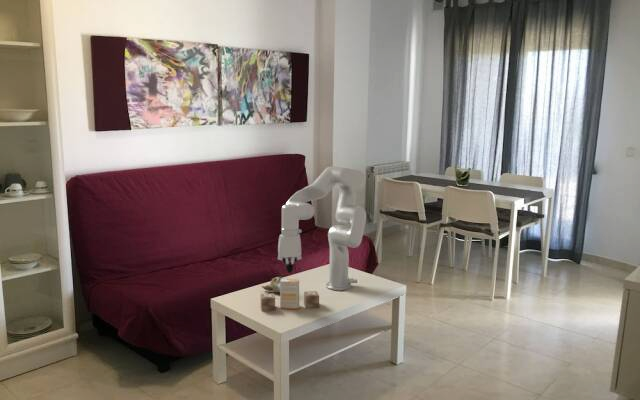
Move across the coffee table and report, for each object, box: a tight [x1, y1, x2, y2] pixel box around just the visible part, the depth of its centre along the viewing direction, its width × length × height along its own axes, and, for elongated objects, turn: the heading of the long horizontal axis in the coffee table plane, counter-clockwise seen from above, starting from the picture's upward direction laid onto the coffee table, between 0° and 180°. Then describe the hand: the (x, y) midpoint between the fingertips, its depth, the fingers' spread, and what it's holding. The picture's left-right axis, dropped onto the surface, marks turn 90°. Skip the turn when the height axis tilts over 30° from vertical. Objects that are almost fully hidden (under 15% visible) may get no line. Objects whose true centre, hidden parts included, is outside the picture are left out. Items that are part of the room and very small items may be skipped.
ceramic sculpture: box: [261, 275, 284, 293], centre depth 267 cm, size 11×9×15 cm
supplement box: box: [279, 277, 300, 310], centre depth 247 cm, size 8×5×13 cm, turn 84°
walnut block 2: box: [303, 290, 320, 309], centre depth 249 cm, size 6×6×6 cm
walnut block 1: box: [260, 292, 276, 312], centre depth 245 cm, size 6×6×6 cm
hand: (289, 272), depth 245 cm, fingers closed
